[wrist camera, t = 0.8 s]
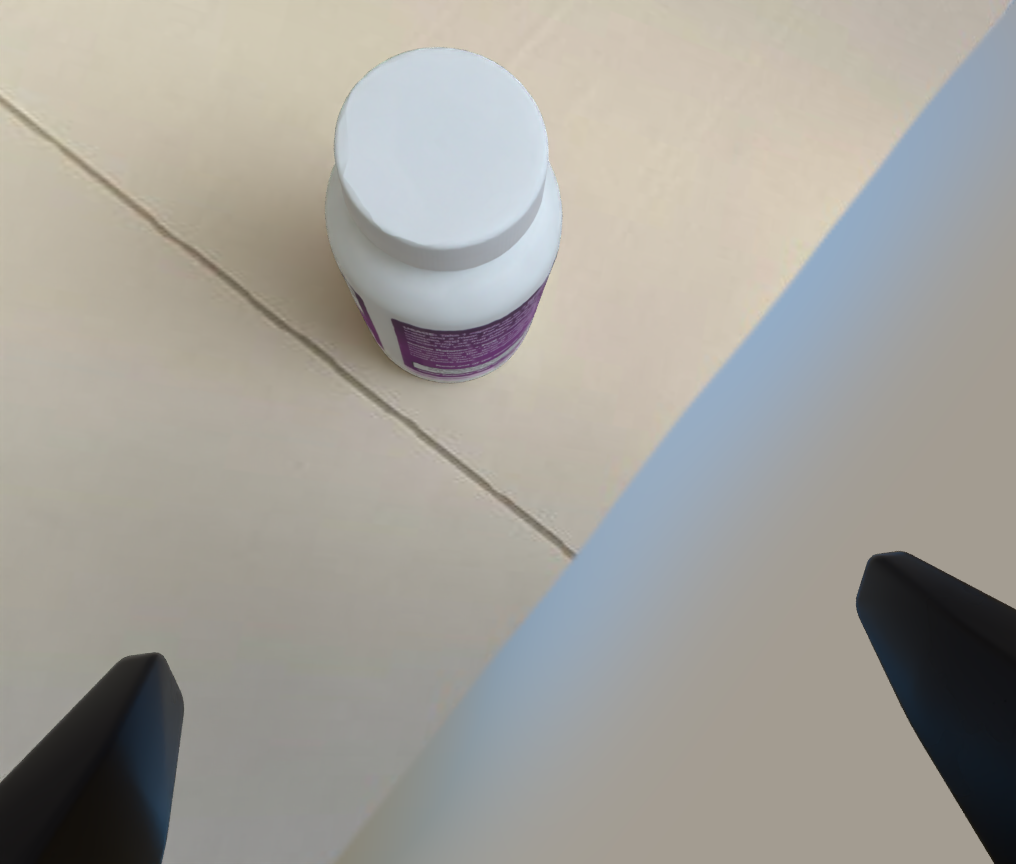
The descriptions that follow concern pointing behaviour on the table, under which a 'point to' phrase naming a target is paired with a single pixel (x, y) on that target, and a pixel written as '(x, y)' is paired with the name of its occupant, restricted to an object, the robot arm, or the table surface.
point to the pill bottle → (443, 210)
